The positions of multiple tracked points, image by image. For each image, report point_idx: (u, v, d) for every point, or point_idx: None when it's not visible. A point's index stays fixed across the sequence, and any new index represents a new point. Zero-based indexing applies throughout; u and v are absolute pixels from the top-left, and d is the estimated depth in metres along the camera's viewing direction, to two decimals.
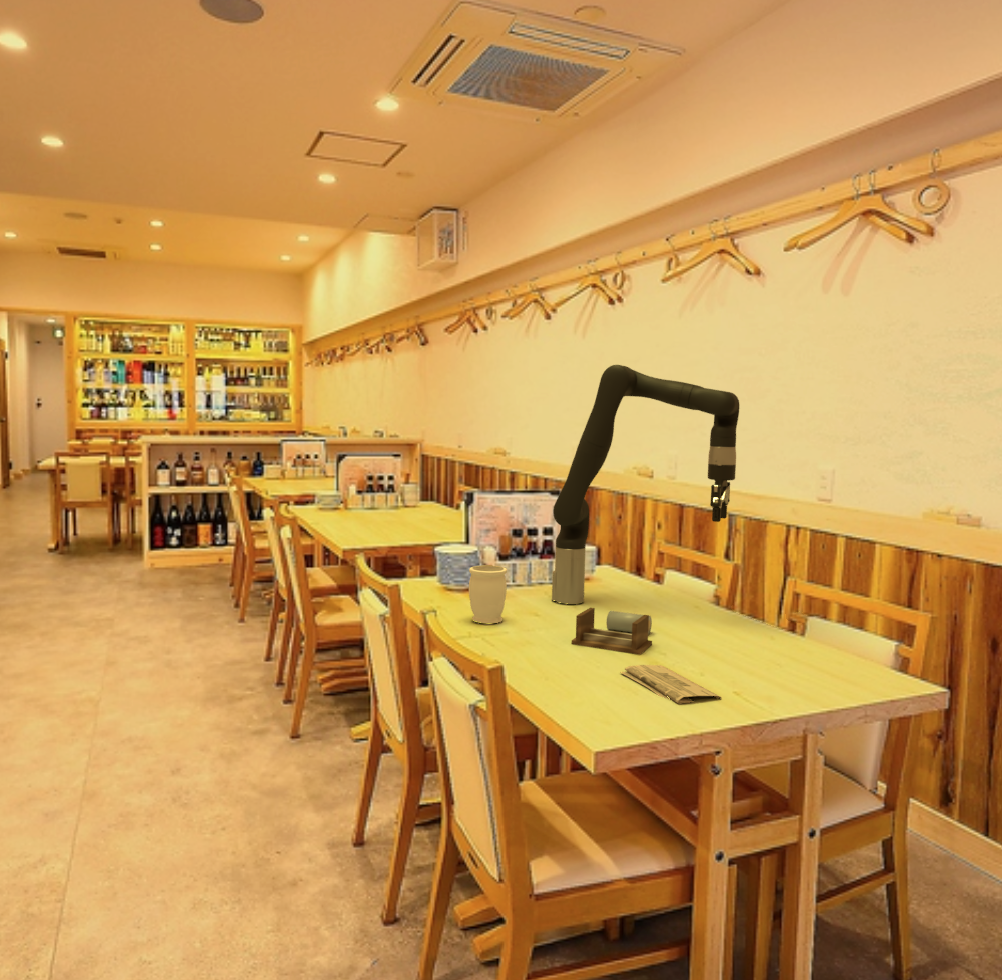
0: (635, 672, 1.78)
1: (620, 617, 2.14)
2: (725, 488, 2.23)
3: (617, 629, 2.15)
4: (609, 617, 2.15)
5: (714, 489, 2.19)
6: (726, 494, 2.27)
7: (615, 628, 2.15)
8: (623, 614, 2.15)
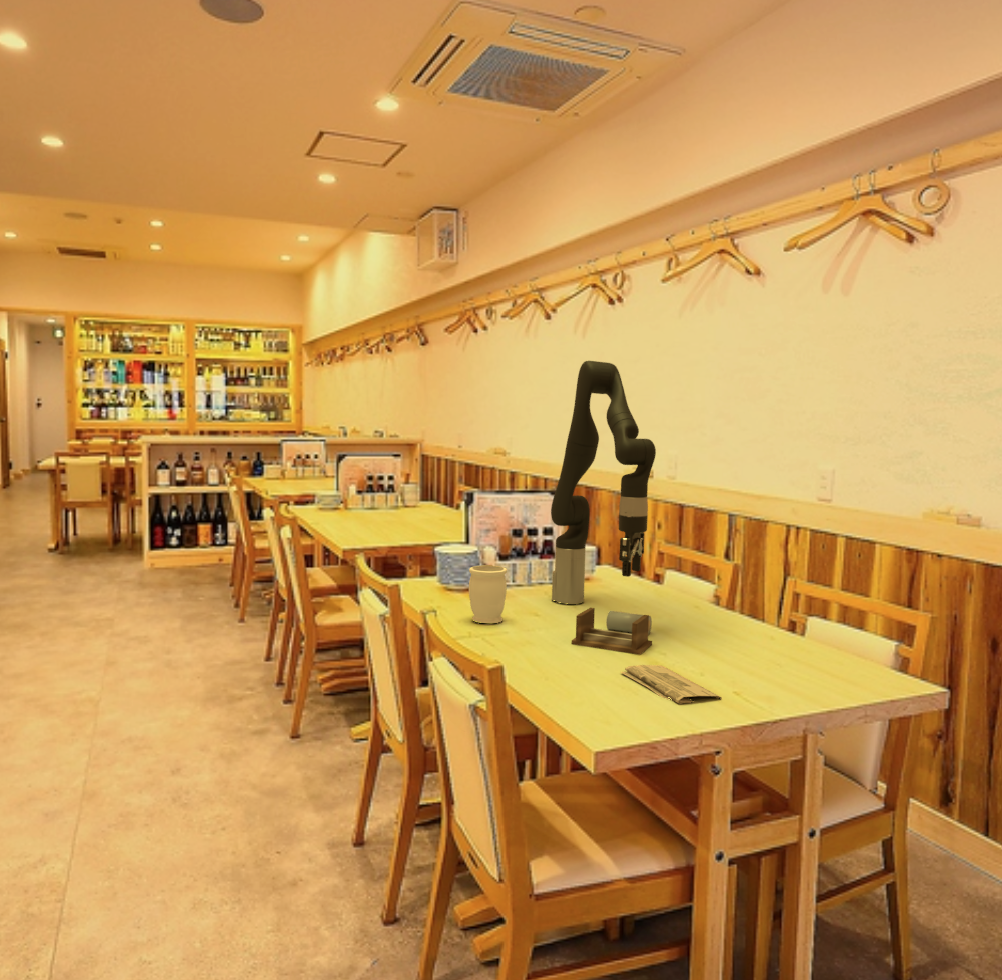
0: (635, 672, 1.78)
1: (620, 617, 2.14)
2: (636, 541, 2.11)
3: (617, 629, 2.15)
4: (609, 617, 2.15)
5: (623, 543, 2.07)
6: None
7: (615, 628, 2.15)
8: (622, 614, 2.15)
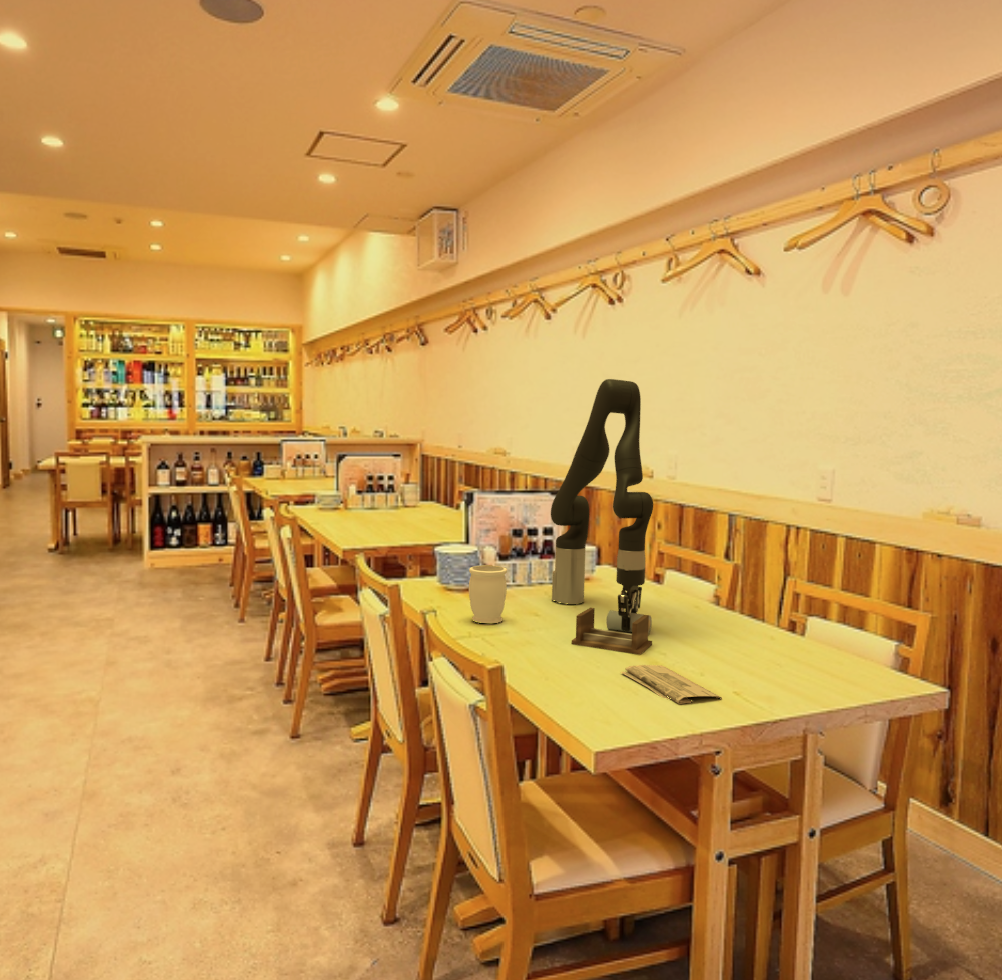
0: (636, 672, 1.78)
1: (620, 617, 2.14)
2: (633, 594, 2.12)
3: (617, 629, 2.15)
4: (609, 617, 2.15)
5: (621, 600, 2.09)
6: (636, 599, 2.15)
7: (615, 628, 2.15)
8: None
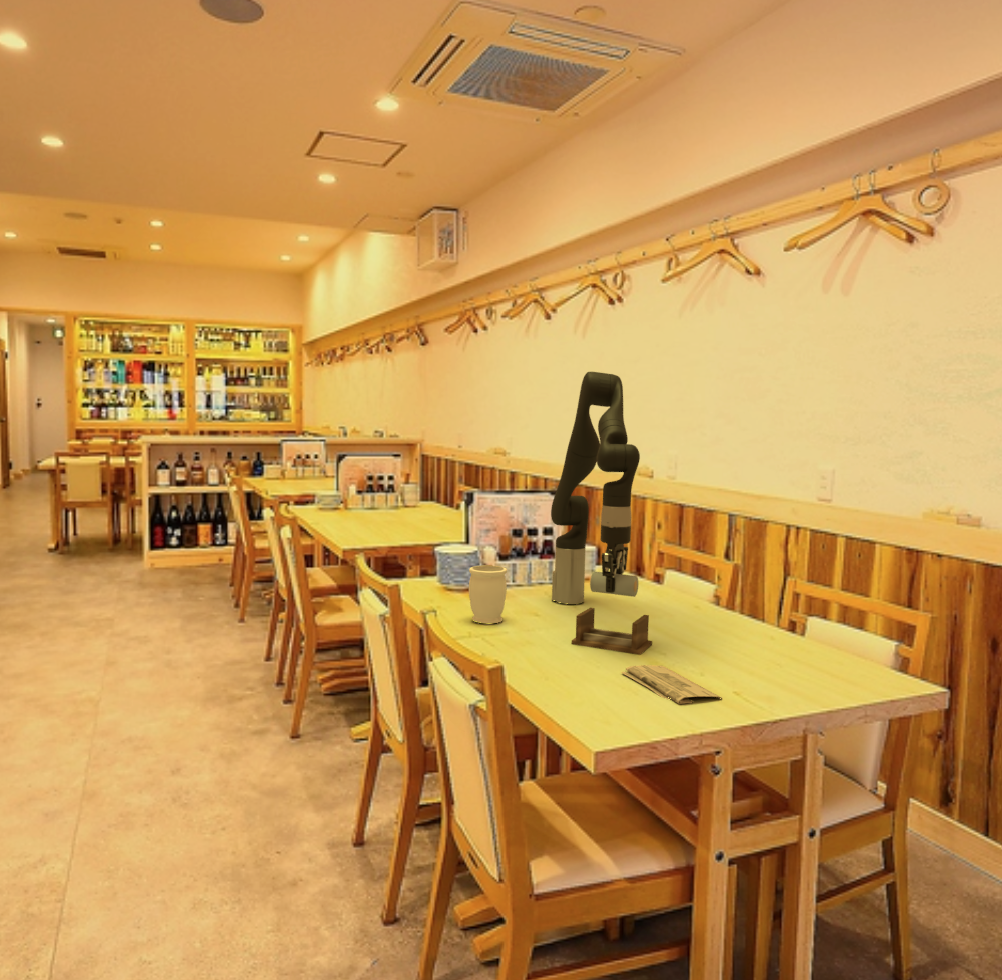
0: (636, 672, 1.78)
1: (605, 578, 2.01)
2: (619, 553, 1.99)
3: (601, 591, 2.01)
4: (593, 578, 2.02)
5: (605, 559, 1.95)
6: (621, 559, 2.02)
7: (599, 590, 2.01)
8: None
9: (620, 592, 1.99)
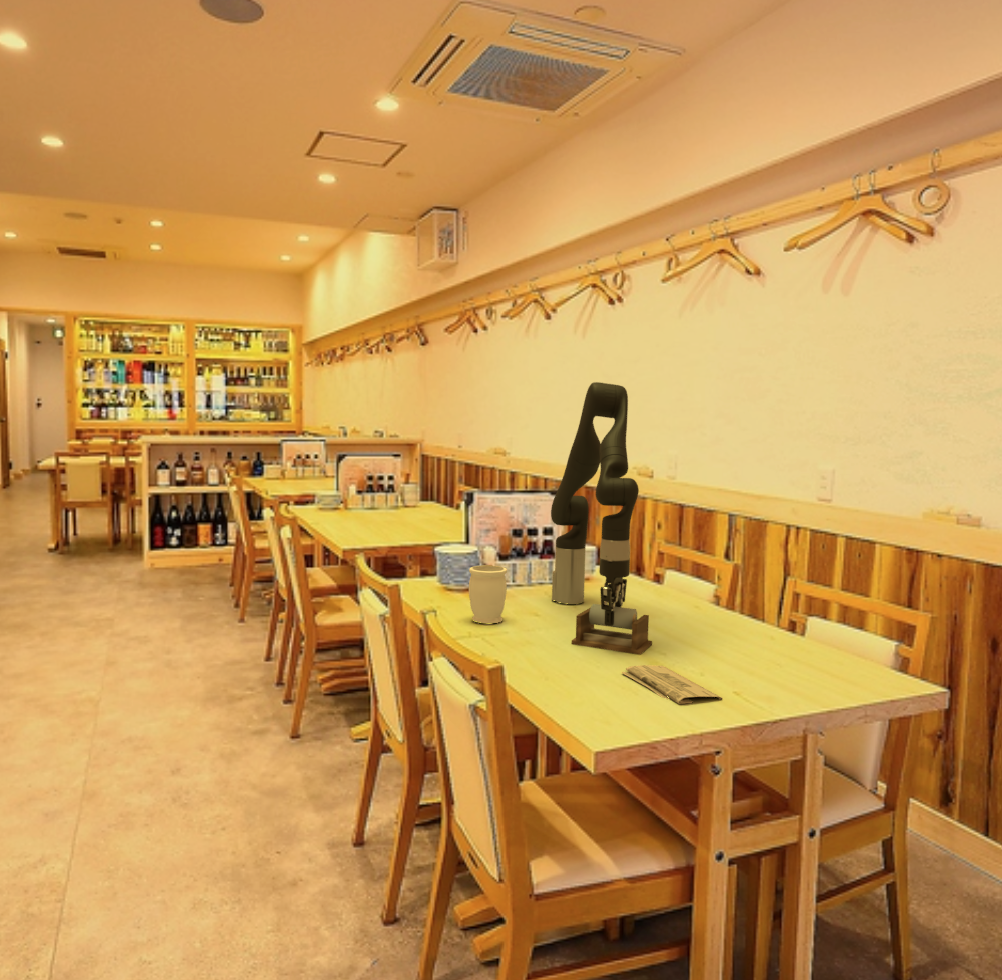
0: (636, 672, 1.78)
1: (603, 611, 2.01)
2: (617, 587, 1.99)
3: (600, 624, 2.02)
4: (592, 611, 2.02)
5: (603, 593, 1.96)
6: (620, 592, 2.02)
7: (598, 622, 2.02)
8: None
9: (619, 625, 2.00)
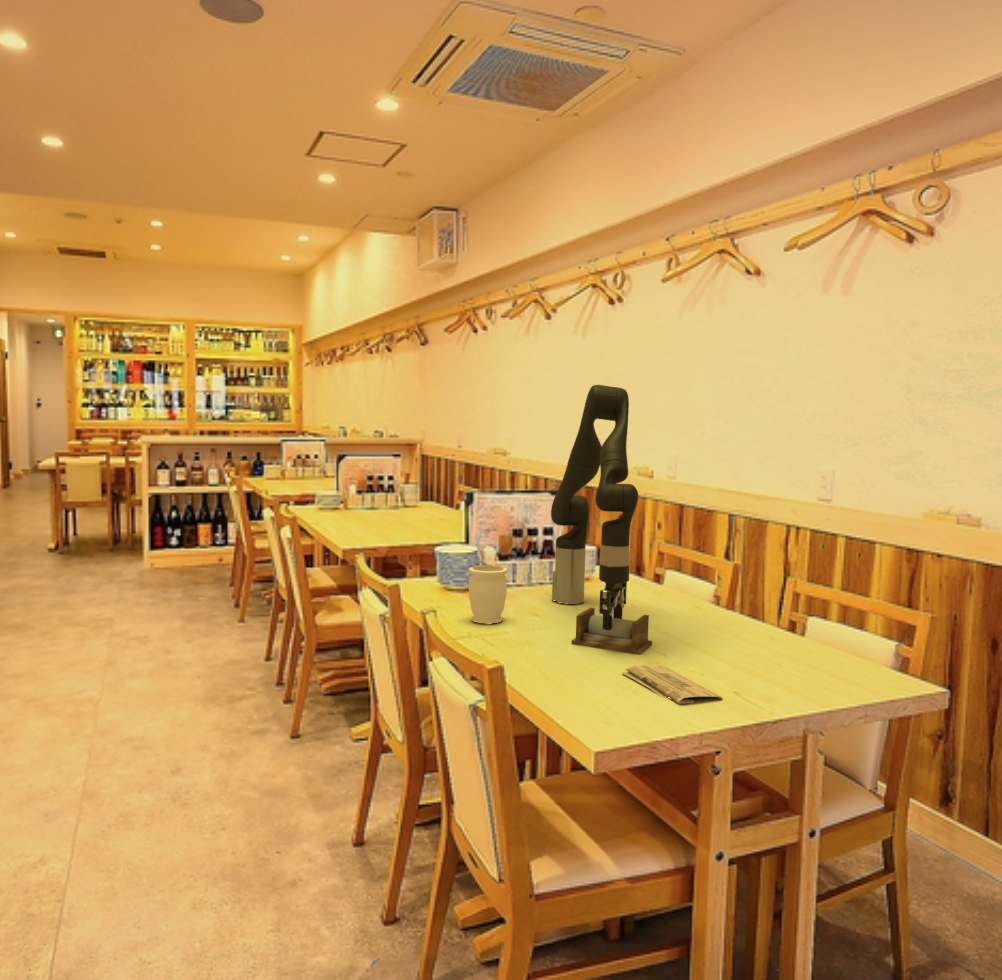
0: (636, 672, 1.77)
1: (602, 623, 2.02)
2: (617, 592, 1.99)
3: None
4: (591, 623, 2.03)
5: (603, 595, 1.96)
6: (620, 597, 2.03)
7: (598, 634, 2.02)
8: None
9: (618, 637, 2.00)
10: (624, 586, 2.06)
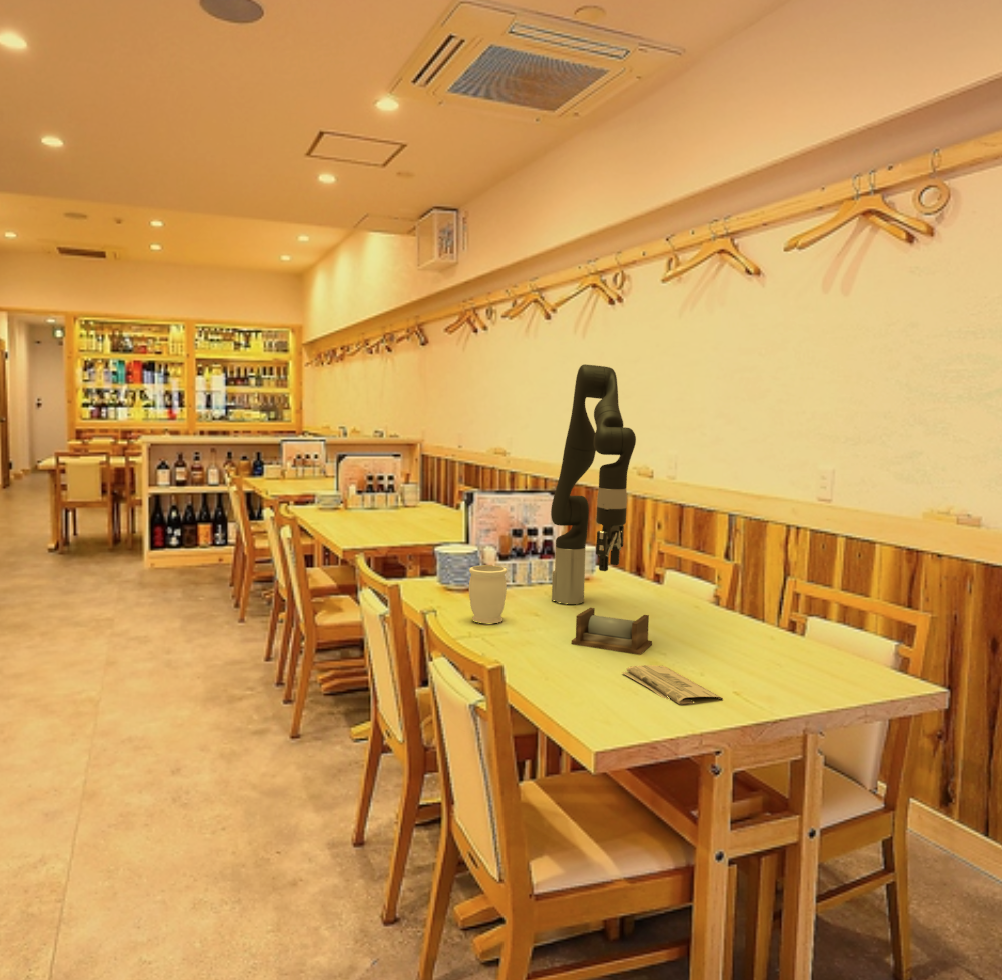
0: (637, 672, 1.77)
1: (602, 623, 2.02)
2: (614, 534, 2.02)
3: None
4: (591, 623, 2.03)
5: (600, 536, 1.99)
6: (617, 539, 2.06)
7: (598, 634, 2.02)
8: (605, 619, 2.02)
9: (618, 637, 2.00)
10: (621, 529, 2.09)
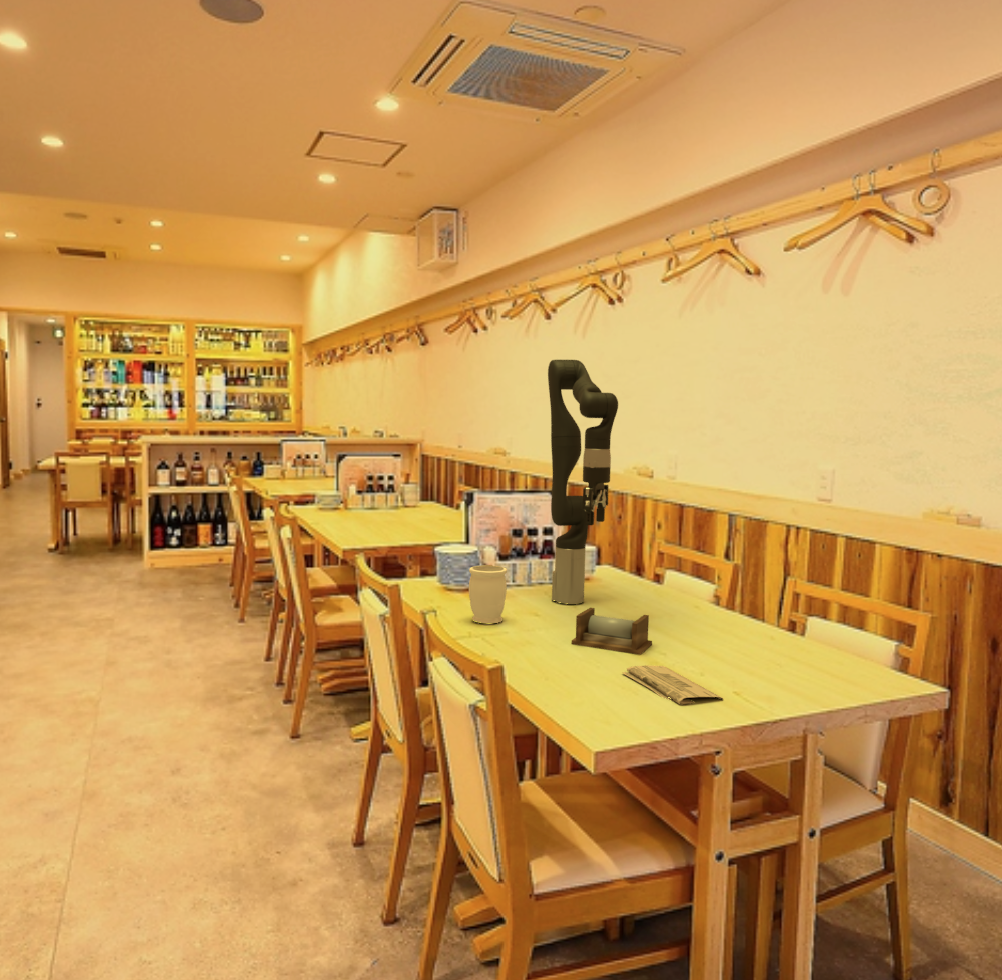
0: (637, 673, 1.77)
1: (602, 623, 2.02)
2: (599, 491, 2.19)
3: None
4: (591, 623, 2.03)
5: (586, 492, 2.15)
6: (602, 497, 2.22)
7: (598, 634, 2.02)
8: (605, 619, 2.02)
9: (618, 637, 2.00)
10: (606, 488, 2.26)
